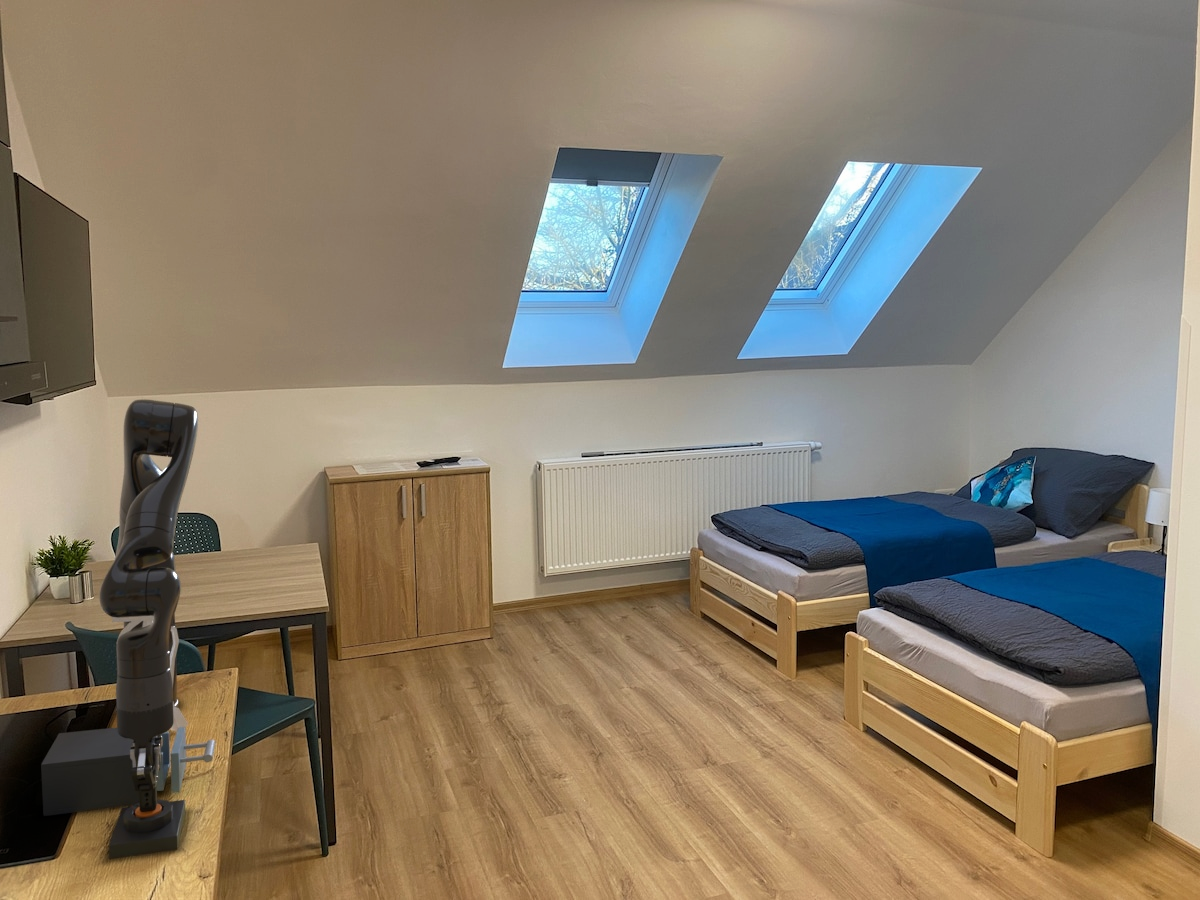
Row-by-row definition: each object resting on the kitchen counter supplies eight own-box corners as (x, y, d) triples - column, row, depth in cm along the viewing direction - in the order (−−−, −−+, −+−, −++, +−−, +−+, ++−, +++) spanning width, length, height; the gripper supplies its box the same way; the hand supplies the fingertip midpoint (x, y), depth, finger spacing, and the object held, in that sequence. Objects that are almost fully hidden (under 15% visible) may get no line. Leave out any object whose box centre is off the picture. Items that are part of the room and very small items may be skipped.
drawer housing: (150, 771, 155) (148, 724, 154) (139, 804, 145) (138, 753, 144) (61, 781, 151) (58, 733, 150) (43, 816, 140) (40, 764, 139)
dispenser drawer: (216, 760, 158) (215, 723, 158) (212, 788, 149) (211, 749, 148) (106, 773, 153) (104, 735, 152) (93, 803, 143) (92, 762, 142)
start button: (137, 815, 137) (137, 804, 137) (163, 812, 138) (163, 801, 138) (133, 827, 133) (133, 816, 133) (160, 824, 135) (159, 813, 134)
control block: (122, 820, 140) (121, 796, 139) (185, 812, 143) (184, 788, 142) (109, 859, 129) (108, 833, 129) (177, 849, 132) (176, 824, 132)
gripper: (167, 714, 128) (170, 828, 130) (177, 681, 141) (180, 785, 143) (108, 720, 126) (112, 835, 128) (124, 685, 138) (128, 791, 140)
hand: (148, 808), depth 135 cm, fingers closed
